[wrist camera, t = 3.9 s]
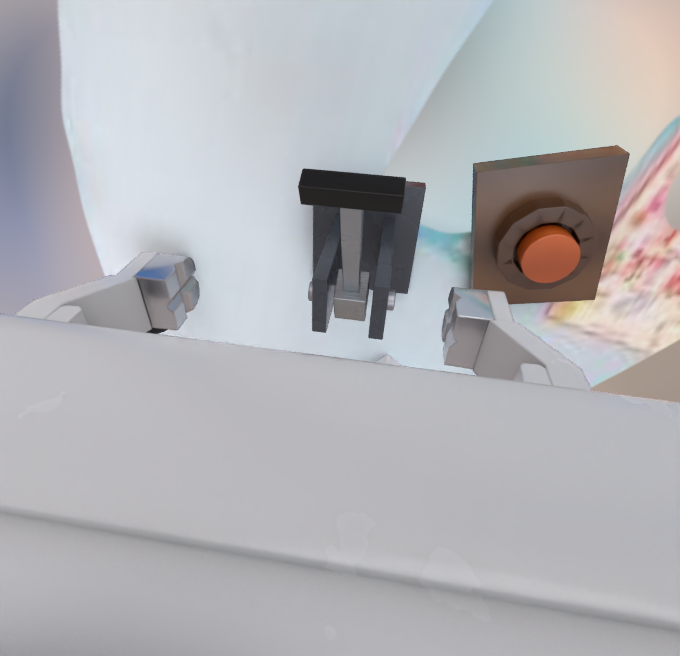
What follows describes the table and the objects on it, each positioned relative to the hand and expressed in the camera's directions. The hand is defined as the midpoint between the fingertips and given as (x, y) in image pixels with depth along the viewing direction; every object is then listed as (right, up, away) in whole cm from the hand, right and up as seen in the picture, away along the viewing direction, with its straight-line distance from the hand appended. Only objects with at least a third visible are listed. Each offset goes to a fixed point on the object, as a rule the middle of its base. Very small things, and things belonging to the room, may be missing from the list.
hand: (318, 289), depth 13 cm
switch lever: (+2, +4, +12) cm, 13 cm away
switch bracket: (+3, +7, +24) cm, 25 cm away
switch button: (+16, +5, +18) cm, 25 cm away
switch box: (+17, +7, +21) cm, 28 cm away
